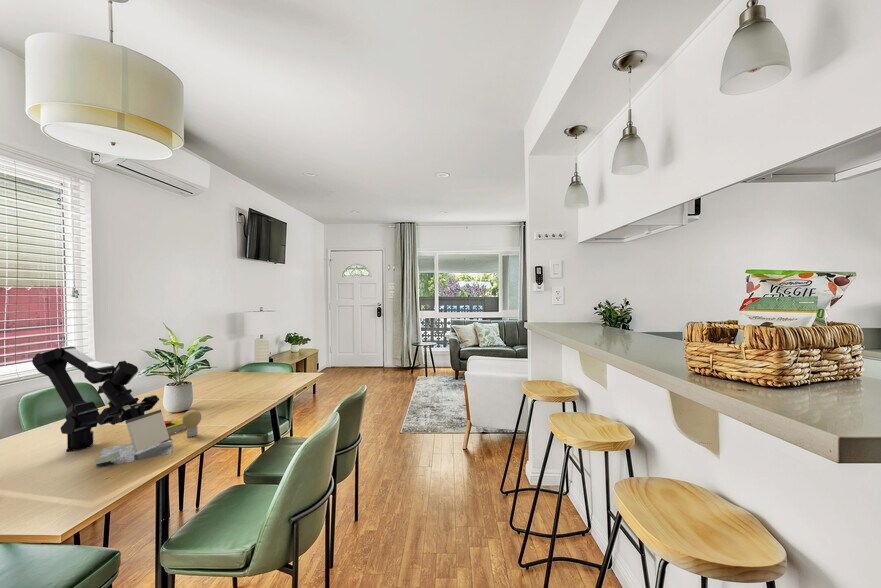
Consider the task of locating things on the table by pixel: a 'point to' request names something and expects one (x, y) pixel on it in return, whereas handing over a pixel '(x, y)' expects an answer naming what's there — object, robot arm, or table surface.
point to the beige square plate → (147, 430)
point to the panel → (129, 454)
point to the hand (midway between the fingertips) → (143, 427)
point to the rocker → (107, 457)
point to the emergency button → (174, 426)
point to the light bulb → (191, 422)
